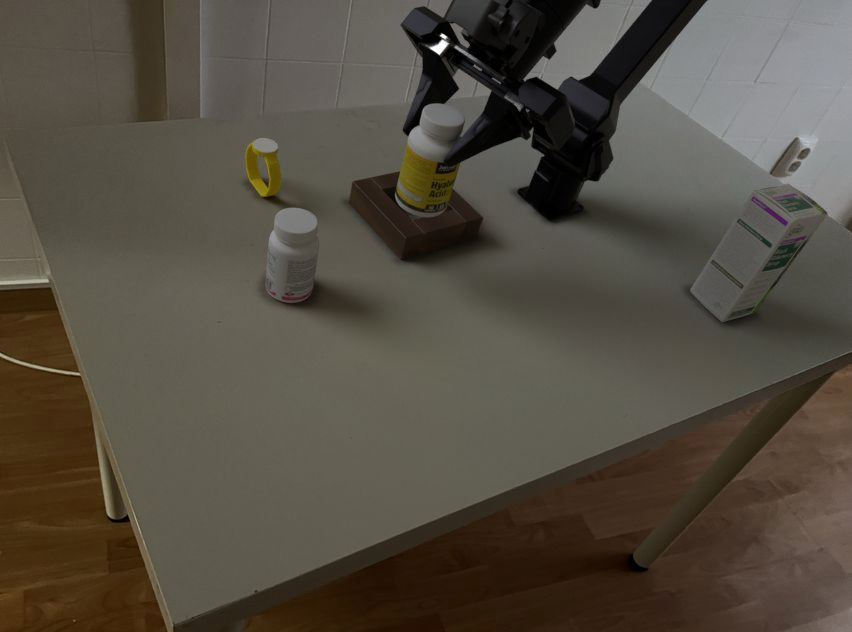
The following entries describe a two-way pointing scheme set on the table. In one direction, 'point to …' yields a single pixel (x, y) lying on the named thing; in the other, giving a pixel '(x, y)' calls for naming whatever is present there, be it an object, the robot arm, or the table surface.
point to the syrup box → (757, 251)
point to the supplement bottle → (429, 162)
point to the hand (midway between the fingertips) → (425, 148)
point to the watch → (268, 151)
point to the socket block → (399, 230)
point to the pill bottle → (292, 255)
